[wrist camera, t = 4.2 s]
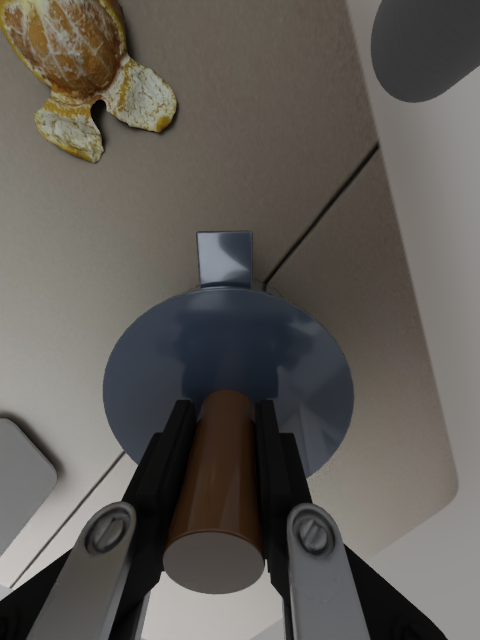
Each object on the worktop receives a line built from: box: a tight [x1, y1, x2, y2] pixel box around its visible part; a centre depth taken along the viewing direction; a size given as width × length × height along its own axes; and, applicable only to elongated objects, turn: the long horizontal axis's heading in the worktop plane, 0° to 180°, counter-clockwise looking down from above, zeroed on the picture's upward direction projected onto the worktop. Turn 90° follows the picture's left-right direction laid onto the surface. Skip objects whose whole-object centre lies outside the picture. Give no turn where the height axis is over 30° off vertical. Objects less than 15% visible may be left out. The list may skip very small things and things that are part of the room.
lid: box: [103, 286, 354, 594], centre depth 9 cm, size 12×12×7 cm
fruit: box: [0, 0, 177, 163], centre depth 11 cm, size 8×8×4 cm
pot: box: [189, 231, 288, 301], centre depth 15 cm, size 11×16×8 cm
